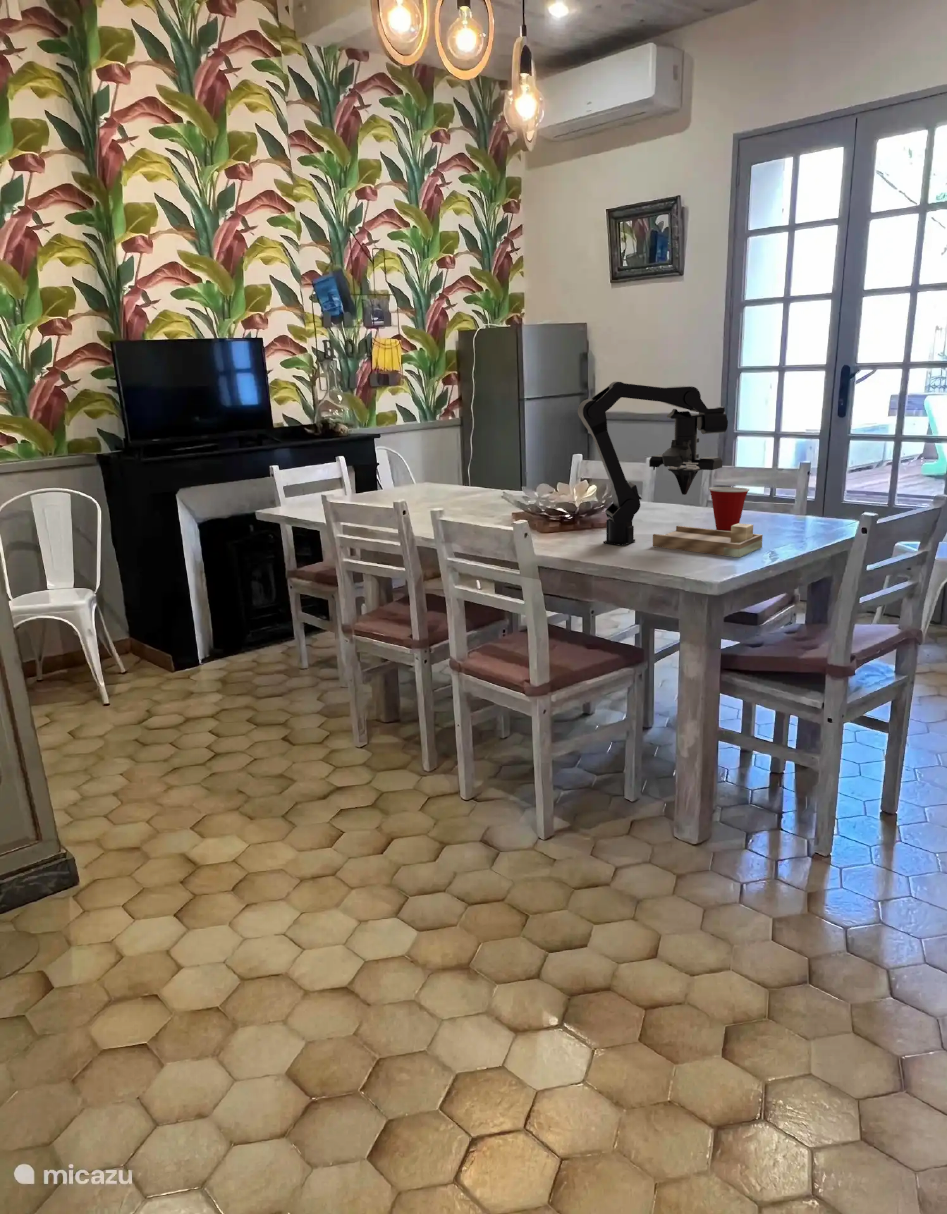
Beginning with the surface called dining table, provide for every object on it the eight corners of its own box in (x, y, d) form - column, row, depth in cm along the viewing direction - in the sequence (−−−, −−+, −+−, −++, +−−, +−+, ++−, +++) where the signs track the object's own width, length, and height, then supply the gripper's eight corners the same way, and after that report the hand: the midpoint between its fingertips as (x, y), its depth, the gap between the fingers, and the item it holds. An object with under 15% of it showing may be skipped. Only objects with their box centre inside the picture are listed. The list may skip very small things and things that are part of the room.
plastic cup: (753, 528, 234) (755, 485, 231) (737, 535, 227) (739, 491, 223) (717, 524, 241) (719, 483, 238) (700, 531, 233) (701, 488, 230)
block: (730, 541, 211) (731, 525, 210) (737, 538, 214) (738, 523, 212) (745, 543, 208) (746, 527, 207) (752, 540, 211) (753, 524, 210)
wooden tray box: (652, 546, 219) (652, 534, 218) (677, 537, 228) (677, 525, 227) (739, 557, 203) (739, 544, 202) (761, 547, 212) (762, 534, 211)
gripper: (638, 437, 219) (638, 496, 223) (703, 439, 206) (701, 501, 211) (660, 433, 226) (659, 490, 231) (724, 434, 214) (722, 495, 219)
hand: (684, 494), depth 223 cm, fingers closed
